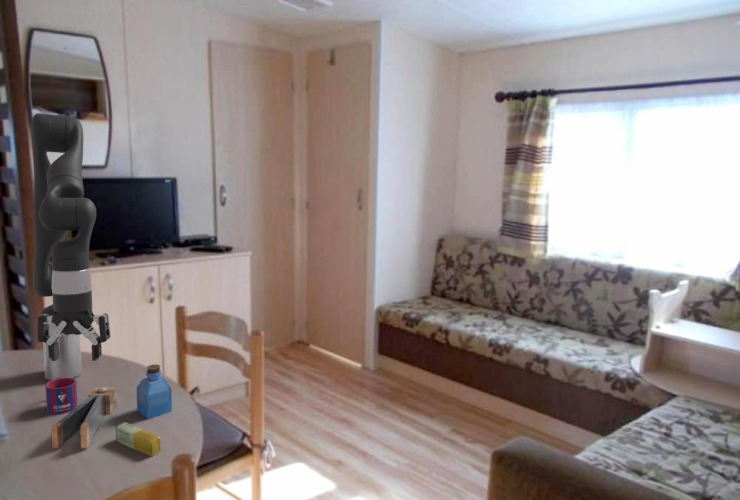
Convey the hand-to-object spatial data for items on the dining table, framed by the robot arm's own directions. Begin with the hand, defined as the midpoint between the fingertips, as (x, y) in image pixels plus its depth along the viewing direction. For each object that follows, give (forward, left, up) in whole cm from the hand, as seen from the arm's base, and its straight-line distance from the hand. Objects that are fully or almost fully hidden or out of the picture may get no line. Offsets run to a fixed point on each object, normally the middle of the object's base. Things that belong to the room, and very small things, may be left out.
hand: (75, 359), depth 116 cm
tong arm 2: (-3, +2, -19) cm, 19 cm away
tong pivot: (-14, 0, -19) cm, 23 cm away
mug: (-16, -11, -19) cm, 27 cm away
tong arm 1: (-3, -2, -18) cm, 19 cm away
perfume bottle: (-13, +13, -19) cm, 27 cm away
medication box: (+4, +14, -19) cm, 24 cm away
